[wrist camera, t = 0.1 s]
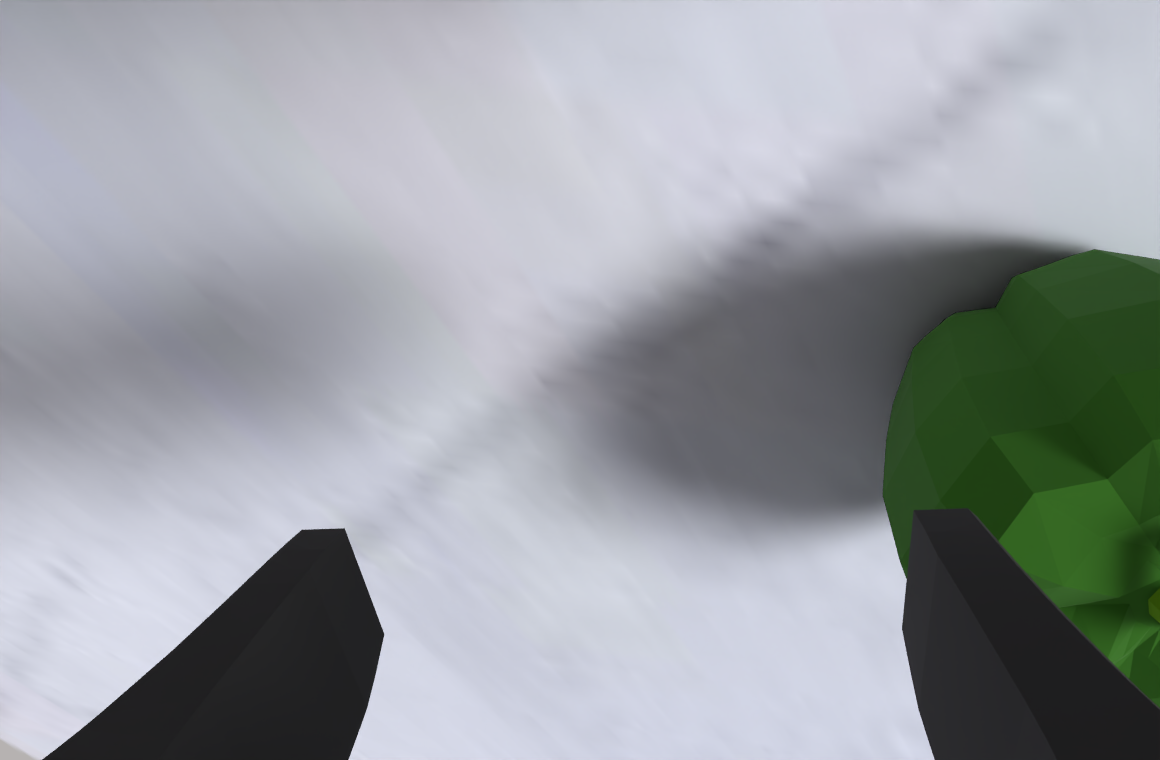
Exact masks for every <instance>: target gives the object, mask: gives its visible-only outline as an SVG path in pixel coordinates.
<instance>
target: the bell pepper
mask: <svg viewBox="0 0 1160 760" xmlns="http://www.w3.org/2000/svg"><path fill="white" fill-rule="evenodd" d="M883 498H884V502H885V506H886V510H887V513H888V517H889V521H890V525H891V529H892V533H893V536H894V540H895V544H896V548H897V552H898V556H899V559H900V563H901V565H902V568H903V570H904V573H905V576H906V578H907V573H908V563H909V552H910V542H911V532H912V521H913V511H914V510H931V509H961V508H968V509H969V510H970V511H972V512H973V513H974V514H975V515H976V516H977V517H978V518H979V519H980V520H981V522H982V523H983V524H984V525H985V526H986V527H987V529H988V530H989V531H990V532H991V533H992V534H993V536H994V537H995V538H996V539H997V540H998V541H999V542H1000V544H1001V545H1002V546H1003V547H1004V548H1005V549H1006V550H1007V552H1008V553H1009V554H1010V555H1011V556H1012V557H1013V558H1014V560H1015V561H1016V562H1017V563H1018V564H1019V565H1020V566H1021V567H1022V569H1023V570H1024V571H1025V572H1026V573H1027V574H1028V575H1029V576H1030V577H1031V578H1032V580H1033V581H1034V582H1035V583H1036V584H1037V585H1038V586H1039V587H1040V588H1041V589H1042V590H1043V592H1044V593H1045V594H1046V595H1047V596H1048V597H1049V598H1050V599H1051V600H1052V601H1053V602H1054V603H1055V604H1056V606H1057V607H1058V608H1059V609H1060V610H1061V611H1062V612H1063V613H1064V614H1065V615H1066V616H1067V617H1068V618H1069V619H1070V620H1071V621H1072V622H1073V623H1074V624H1075V625H1076V626H1077V627H1078V628H1079V629H1080V630H1081V631H1082V632H1083V633H1084V635H1085V636H1086V637H1087V638H1088V639H1089V640H1090V641H1091V642H1092V643H1093V644H1094V645H1095V646H1096V647H1097V648H1098V649H1099V650H1100V651H1101V652H1102V653H1103V654H1104V655H1105V656H1106V657H1107V658H1108V659H1109V660H1110V661H1111V662H1112V663H1113V664H1114V665H1115V666H1116V667H1117V668H1118V669H1119V670H1120V671H1121V672H1122V673H1123V674H1124V675H1125V676H1126V677H1127V678H1128V679H1130V680H1131V681H1132V682H1133V683H1134V684H1135V685H1136V686H1137V687H1138V688H1139V689H1140V690H1141V691H1142V692H1143V693H1144V694H1145V695H1146V696H1147V697H1148V698H1149V699H1151V700H1152V701H1153V702H1154V703H1155V704H1156V705H1157V706H1158V707H1159V708H1160V260H1158V259H1152V258H1146V257H1140V256H1133V255H1127V254H1121V253H1114V252H1108V251H1102V250H1095V249H1094V250H1090V251H1087V252H1083V253H1079V254H1076V255H1072V256H1069V257H1067V258H1064V259H1061V260H1059V261H1056V262H1053V263H1050V264H1048V265H1045V266H1042V267H1040V268H1037V269H1034V270H1031V271H1028V272H1025V273H1022V274H1019V275H1016V276H1014V277H1012V278H1011V280H1010V282H1009V284H1008V286H1007V287H1006V289H1005V291H1004V293H1003V295H1002V297H1001V298H1000V300H999V302H998V304H997V306H996V308H989V309H981V310H973V311H966V312H958V313H954V314H953V315H951V316H950V317H948V318H947V319H946V320H944V321H943V322H942V323H941V324H940V325H938V326H937V327H936V328H935V329H933V330H932V331H931V332H930V333H929V334H927V335H926V336H925V337H924V338H923V339H922V340H921V341H920V342H919V343H918V344H917V345H916V346H915V347H914V348H913V350H912V353H911V356H910V358H909V361H908V364H907V367H906V369H905V372H904V375H903V377H902V380H901V383H900V386H899V388H898V391H897V394H896V397H895V399H894V402H893V406H892V411H891V417H890V422H889V428H888V433H887V439H886V451H885V466H884V481H883Z"/></svg>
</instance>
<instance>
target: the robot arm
mask: <svg viewBox="0 0 1160 760" xmlns="http://www.w3.org/2000/svg"><path fill="white" fill-rule="evenodd" d="M902 630H903V635H904V640H905V646H906V651H907V656H908V661H909V666H910V671H911V676H912V680H913V685H914V690H915V694H916V699H917V704H918V708H919V712H920V715H921V718H922V721H923V725H924V728H925V731H926V734H927V737H928V740H929V743H930V746H931V749H932V753H933V756H934V759H935V760H1160V708H1159V707H1158V706H1157V705H1156V704H1155V703H1154V702H1153V701H1152V700H1151V699H1149V698H1148V697H1147V696H1146V695H1145V694H1144V693H1143V692H1142V691H1141V690H1140V689H1139V688H1138V687H1137V686H1136V685H1135V684H1134V683H1133V682H1132V681H1131V680H1130V679H1128V678H1127V677H1126V676H1125V675H1124V674H1123V673H1122V672H1121V671H1120V670H1119V669H1118V668H1117V667H1116V666H1115V665H1114V664H1113V663H1112V662H1111V661H1110V660H1109V659H1108V658H1107V657H1106V656H1105V655H1104V654H1103V653H1102V652H1101V651H1100V650H1099V649H1098V648H1097V647H1096V646H1095V645H1094V644H1093V643H1092V642H1091V641H1090V640H1089V639H1088V638H1087V637H1086V636H1085V635H1084V633H1083V632H1082V631H1081V630H1080V629H1079V628H1078V627H1077V626H1076V625H1075V624H1074V623H1073V622H1072V621H1071V620H1070V619H1069V618H1068V617H1067V616H1066V615H1065V614H1064V613H1063V612H1062V611H1061V610H1060V609H1059V608H1058V607H1057V606H1056V604H1055V603H1054V602H1053V601H1052V600H1051V599H1050V598H1049V597H1048V596H1047V595H1046V594H1045V593H1044V592H1043V590H1042V589H1041V588H1040V587H1039V586H1038V585H1037V584H1036V583H1035V582H1034V581H1033V580H1032V578H1031V577H1030V576H1029V575H1028V574H1027V573H1026V572H1025V571H1024V570H1023V569H1022V567H1021V566H1020V565H1019V564H1018V563H1017V562H1016V561H1015V560H1014V558H1013V557H1012V556H1011V555H1010V554H1009V553H1008V552H1007V550H1006V549H1005V548H1004V547H1003V546H1002V545H1001V544H1000V542H999V541H998V540H997V539H996V538H995V537H994V536H993V534H992V533H991V532H990V531H989V530H988V529H987V527H986V526H985V525H984V524H983V523H982V522H981V520H980V519H979V518H978V517H977V516H976V515H975V514H974V513H973V512H972V511H970V510H969V509H968V508H961V509H931V510H914V511H913V521H912V532H911V542H910V552H909V563H908V573H907V583H906V594H905V604H904V614H903V625H902ZM383 638H384V632H383V630H382V627H381V624H380V622H379V619H378V616H377V614H376V611H375V608H374V606H373V603H372V600H371V598H370V595H369V592H368V590H367V587H366V584H365V582H364V579H363V576H362V574H361V571H360V568H359V566H358V563H357V560H356V558H355V555H354V552H353V550H352V547H351V544H350V542H349V539H348V536H347V534H346V531H345V528H344V529H314V530H301V531H300V532H299V533H298V534H297V535H295V536H294V537H293V538H292V539H291V540H290V541H289V542H287V543H286V544H285V545H284V546H283V547H282V548H281V549H280V550H279V551H278V552H277V553H276V554H274V555H273V556H272V557H271V558H270V559H269V560H268V561H267V562H266V563H265V564H264V565H263V566H262V567H261V568H260V569H259V570H258V571H256V572H255V573H254V574H253V575H252V576H251V577H250V578H249V579H248V580H247V581H246V582H245V583H244V584H243V585H242V586H241V587H240V588H239V589H238V590H237V591H236V592H234V593H233V594H232V595H231V596H230V597H229V598H228V599H227V600H226V601H225V602H224V603H223V604H222V605H221V606H220V607H219V608H218V609H216V610H215V611H214V612H213V613H212V614H211V615H210V616H209V617H208V618H207V619H206V620H205V621H204V622H203V623H202V624H200V625H199V626H198V627H197V628H196V629H195V630H194V631H193V632H192V633H191V634H190V635H189V636H188V637H187V638H185V639H184V640H183V641H182V642H181V643H180V644H179V645H178V646H177V647H176V648H175V649H174V650H173V651H171V652H170V653H169V654H168V655H167V656H166V657H165V658H163V659H162V660H161V661H160V662H159V663H158V664H157V665H155V666H154V667H153V668H152V669H151V670H150V671H149V672H147V673H146V674H145V675H144V676H143V677H142V678H140V679H139V680H138V681H137V682H136V683H135V684H134V685H132V686H131V687H130V688H129V689H128V690H127V691H126V692H124V693H123V694H122V695H121V696H120V697H119V698H118V699H116V700H115V701H114V702H113V703H112V704H111V705H109V706H108V707H107V708H106V709H105V710H104V711H103V712H101V713H100V714H99V715H98V716H97V717H95V718H94V719H93V720H92V721H91V722H89V723H88V724H87V725H86V726H84V727H83V728H82V729H81V730H80V731H78V732H77V733H76V734H75V735H73V736H72V737H71V738H70V739H68V740H67V741H66V742H64V743H63V744H62V745H61V746H59V747H58V748H57V749H56V750H54V751H53V752H52V753H50V754H49V755H48V756H46V757H45V758H44V759H42V760H348V759H349V756H350V754H351V751H352V748H353V746H354V743H355V740H356V737H357V735H358V732H359V729H360V726H361V724H362V721H363V718H364V715H365V712H366V709H367V706H368V702H369V698H370V694H371V690H372V686H373V682H374V678H375V674H376V670H377V665H378V661H379V656H380V651H381V647H382V642H383Z"/></svg>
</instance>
